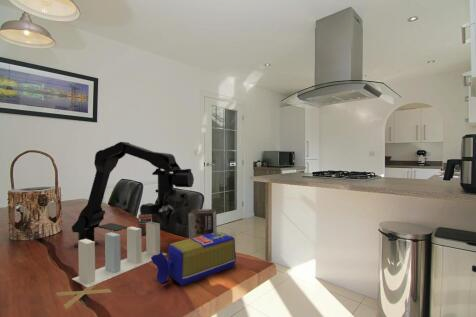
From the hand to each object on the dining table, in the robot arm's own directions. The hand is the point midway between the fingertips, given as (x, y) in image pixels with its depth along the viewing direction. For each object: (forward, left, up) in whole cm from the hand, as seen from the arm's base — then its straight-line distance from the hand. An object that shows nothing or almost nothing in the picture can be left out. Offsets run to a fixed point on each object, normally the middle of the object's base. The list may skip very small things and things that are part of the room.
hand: (166, 228), depth 94 cm
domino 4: (0, -6, -8) cm, 10 cm away
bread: (+23, -7, -9) cm, 25 cm away
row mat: (0, -17, -9) cm, 19 cm away
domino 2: (0, -21, -8) cm, 22 cm away
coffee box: (+15, +4, -9) cm, 18 cm away
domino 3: (0, -13, -8) cm, 16 cm away
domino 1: (0, -28, -8) cm, 30 cm away
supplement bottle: (-25, +9, -9) cm, 28 cm away
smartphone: (-48, +7, -9) cm, 49 cm away
